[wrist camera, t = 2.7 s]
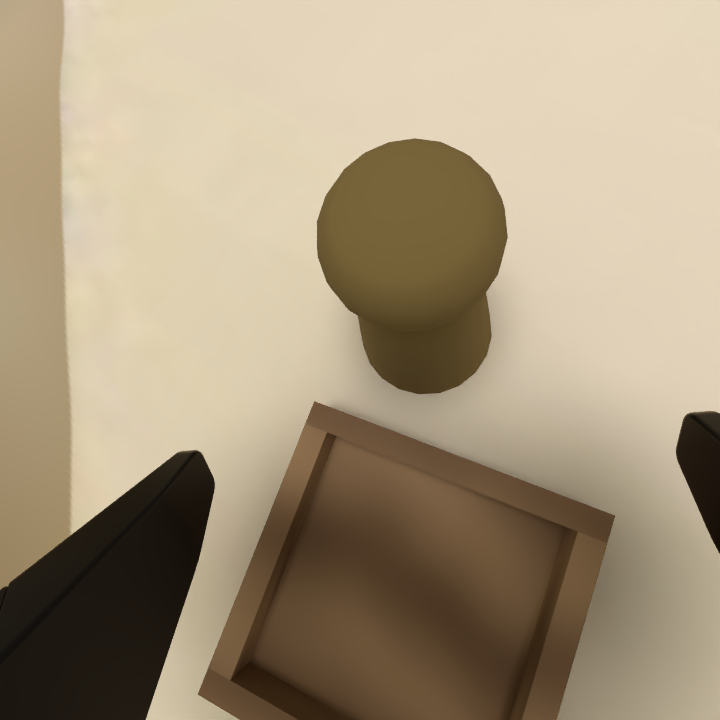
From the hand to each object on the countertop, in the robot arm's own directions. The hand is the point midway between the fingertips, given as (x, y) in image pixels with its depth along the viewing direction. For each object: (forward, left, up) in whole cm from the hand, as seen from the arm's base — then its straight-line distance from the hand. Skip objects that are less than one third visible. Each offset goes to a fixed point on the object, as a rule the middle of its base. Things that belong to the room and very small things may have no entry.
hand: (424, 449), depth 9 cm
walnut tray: (-6, -1, -12) cm, 13 cm away
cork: (+5, +2, -12) cm, 14 cm away
